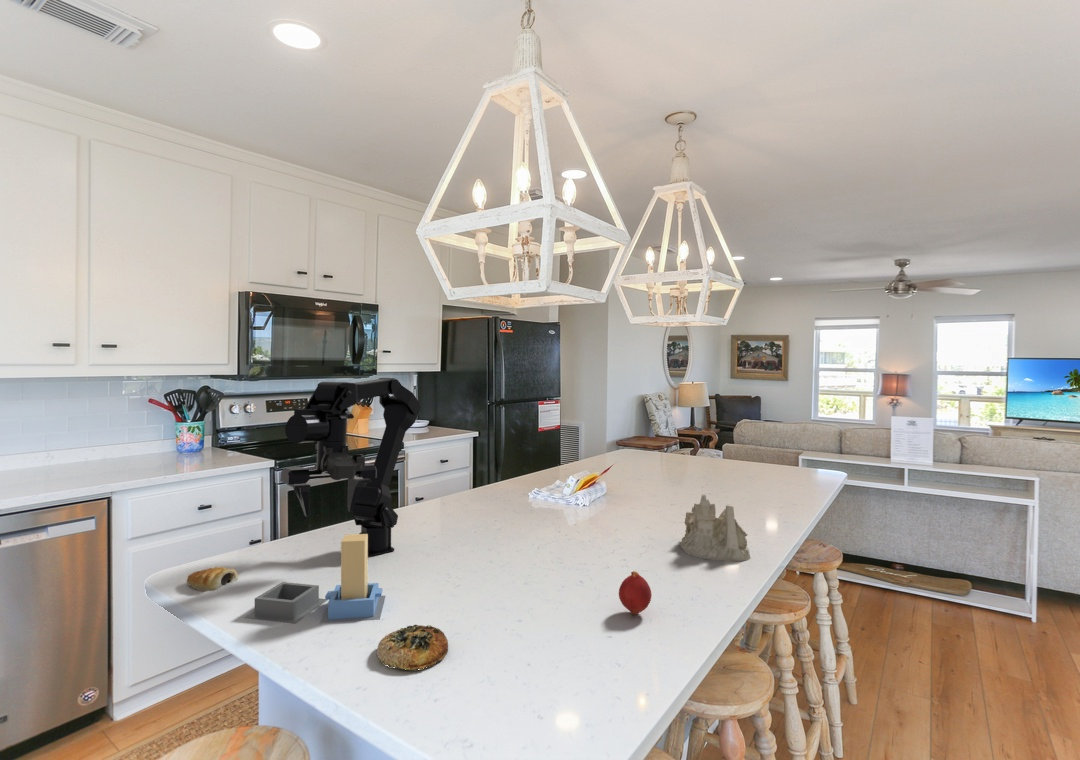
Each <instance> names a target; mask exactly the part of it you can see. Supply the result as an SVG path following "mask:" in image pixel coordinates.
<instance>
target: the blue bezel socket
mask: <svg viewBox="0 0 1080 760" xmlns="http://www.w3.org/2000/svg"><path fill="white" fill-rule="evenodd" d="M379 584H380V583H379V582H373V583H372V582H371V583H370V582H369V583H368V598H363V599H346V600H341V584H336V586H335V587H334V589H333V590H328V591H327V592H326V594H325V597H324V599H325V600H327V601H328V602H327V607H326V609H325V610H324V613H323V614H322V617H321V619H320V621H319V624H330V623H344V622H345V623H346V622H348V623H349V622H360V621H361V622H362V621H363V622H364V621H374V620H375V621H379V620H381V616H382V612H383V608H384V604H385V601H386V595H382V594H383V587H381V588H379Z"/></svg>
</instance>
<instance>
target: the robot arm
mask: <svg viewBox="0 0 1080 760" xmlns="http://www.w3.org/2000/svg"><path fill="white" fill-rule="evenodd" d="M390 395H391V396H390ZM376 397H379V400H378V402H379V404H380V405H381V407H382V408H383V409H384V410H383V414H382V415H383V419H384V423H385V429H384V431H383V434H382V437H381V441H380V444H379V448H378V450H377V454H376V457H375V460H374V463H372V464H371V463H367V462H366V456H365V455H364V454H363V453H361V454H360V453H358V454H357V453H356V454H353V455H350V453H349V451H350V450H349V445H347V432H348V431H347V427H348V419H349V420H352V419H355V416H354V414H353V413H352V412H351V411H350V410H349V409H348V408H351V407H352V406H355V405H356V404H357V403H358V402H359V401H361V400H365V399H372V398H376ZM420 411H421V403H420V401H419V400H418V399H417V397H416V396H415V394H414V393H413V392H412V391H410V390H409V389H408V388H406V387H405V386H403V385H402V383H401V382H400V381H399V380H398V379H397V378H395V377H380V378H377V379H371V380H362V381H357V382H346V381H326V380H325V381H321V382H319V383H318V384H317V387H316V388H315V390H314V391H313V393H312V395H311V396H310V398H309V400H308V401H307V403H306V404H305V407H304V408H295V409H293V414H292V416H290V418H288V419H287V422H286V424H285V426H284V432H285V436H286V438H287V440H288V441H289V442H291V443H293V444H304V443H316V442H317V443H316V444H315V447H314V448H315V450H317V451H316V463H314V468H313V469H308V468H306V467H303V466H289V467H287V466H286V467H284V468H283V469H281V471H280V482H282V483H284V484H286V485H287V486H289V487H291V488H292V489H293V491H294V492H295V494H296V496H297V499H298V500H299V504H300V506H301V508H302V509H301V510H302V512H303V515H304V517H306V518H308V517H309V515H310V514H309V513H310V489H311V484H309V483H308V482H309V480H312V479H313V480H314V479H327V478H331V479H332V480H333V481H340V480H345V479H346V480H347V498H346V499H347V500H346V501H347V511H348V512H350V513H352V517H353V519H354V523H355V526H360V528H361V529H360V532H359V533H358V534H368V557H373V556H377V555H380V554H385V553H390V552H395V547H393V546H392V529H393V528H394V527H395V526H397V524H398V518H399V515H398V514H397V512H396V511H395V510H394V509H393V507H392V506H391V505H392V502H393V498H392V494H391V490H390V484H391V481H392V477H393V475H394V471H395V467H396V465H397V461H398V457H399V455H400V451H401V447H402V444H403V442H404V437H405V435H406V432H407V431H408V430H409V429H410V428H411V427H413V425H414V424H415V423H416V421H417V418H418V416H419V413H420Z"/></svg>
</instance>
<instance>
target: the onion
mask: <svg viewBox="0 0 1080 760" xmlns="http://www.w3.org/2000/svg"><path fill="white" fill-rule="evenodd" d="M630 573H631V575H629V576H627V577H626V578H624V579H623V580H622V582H621V583H620V586H619V589H618V598H619V600H620V602H621V604H622V606H623V607H624V608H625V609H627V610H628V611H629V612H630V613H631V614H632V615H634V616H635V615H636V616H637V615H639V614H640V613H642V612H643V611H645V610H646V609H647V608H648V607H649V605H650V603H651V601H652V595H653V594H652V590H651V587H650V585H649V583H648V582H647V580H646V579H645V578H644V577H643V576H641V575H640V573H639V572H637V571H636V570H633V571H632V572H630Z"/></svg>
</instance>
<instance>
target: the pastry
mask: <svg viewBox="0 0 1080 760" xmlns="http://www.w3.org/2000/svg"><path fill="white" fill-rule="evenodd" d="M238 579H239V574H238V572H237V571H236V570H235V569H234V568H225V567H223V566H218V567H217V566H216V567H209V568H207V569H202V570H197V571H195V572H192V573H191V574H189V575H188V576H187V579H186V582H187V584H188V585H189V587H192V588H193V589H194V590H195V591H201V592H205V593H206V592H207V591H209V590H210V591H216V590H218V589H221V588H223V587H225V586H226V585H228V584H234V583H236V582H237V581H238Z"/></svg>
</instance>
